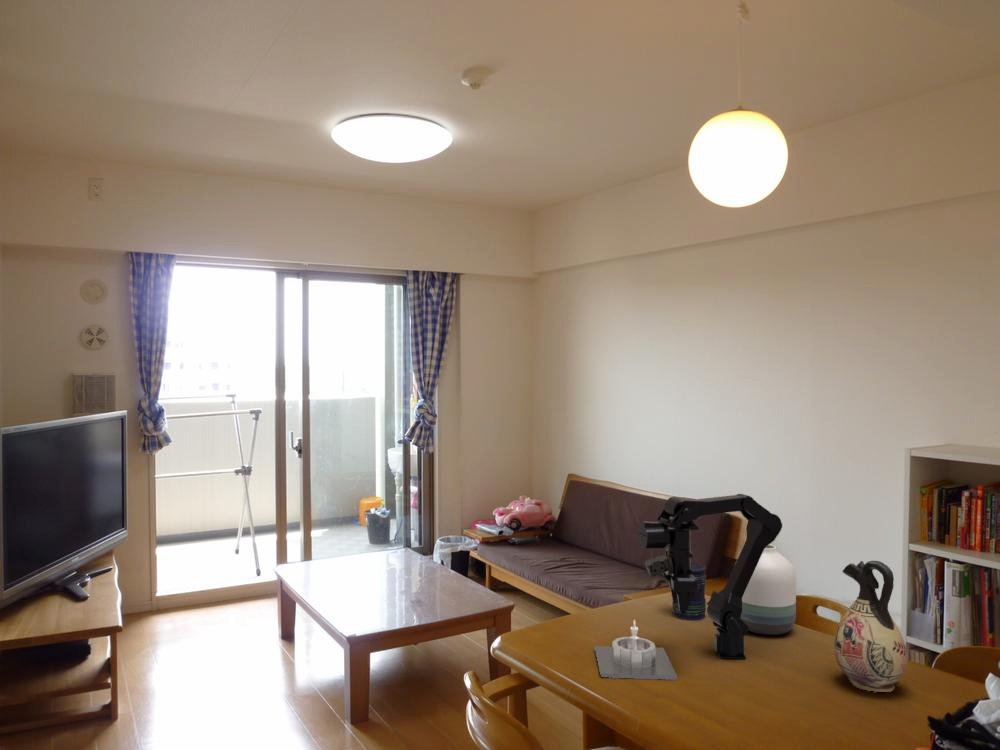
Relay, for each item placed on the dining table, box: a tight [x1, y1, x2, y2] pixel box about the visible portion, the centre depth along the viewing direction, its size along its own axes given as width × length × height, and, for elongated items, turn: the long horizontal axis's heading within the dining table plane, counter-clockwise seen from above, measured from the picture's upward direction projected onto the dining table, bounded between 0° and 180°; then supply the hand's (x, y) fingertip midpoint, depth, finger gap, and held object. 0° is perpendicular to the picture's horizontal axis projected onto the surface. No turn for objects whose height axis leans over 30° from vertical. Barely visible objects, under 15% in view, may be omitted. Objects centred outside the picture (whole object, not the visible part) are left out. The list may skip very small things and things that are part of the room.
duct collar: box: [594, 636, 678, 681], centre depth 179 cm, size 18×18×5 cm
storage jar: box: [671, 562, 707, 622], centre depth 217 cm, size 10×10×15 cm
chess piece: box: [629, 619, 640, 650], centre depth 179 cm, size 5×5×10 cm
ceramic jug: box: [833, 560, 908, 693], centre depth 166 cm, size 17×15×30 cm
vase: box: [734, 543, 797, 636], centre depth 205 cm, size 17×17×24 cm
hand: (678, 608), depth 183 cm, fingers open, 9 cm apart
